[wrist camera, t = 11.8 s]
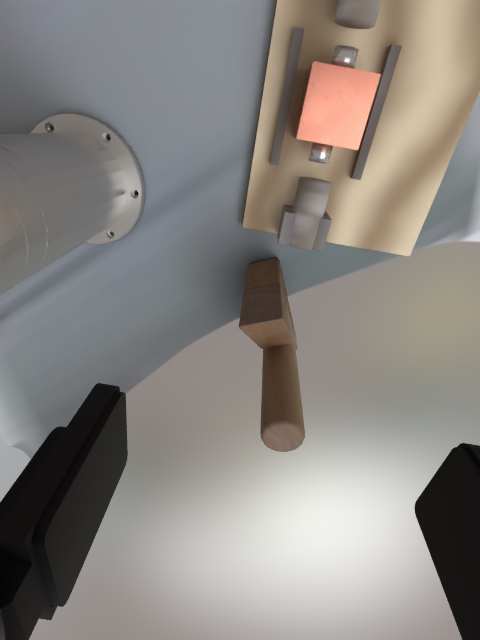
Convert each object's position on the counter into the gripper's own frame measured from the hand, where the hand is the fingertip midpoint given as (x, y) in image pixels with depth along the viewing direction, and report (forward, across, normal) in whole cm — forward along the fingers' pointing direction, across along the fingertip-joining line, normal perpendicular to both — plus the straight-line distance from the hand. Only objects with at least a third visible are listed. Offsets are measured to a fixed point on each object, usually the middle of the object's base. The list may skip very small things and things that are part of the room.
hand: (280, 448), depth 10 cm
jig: (+30, -6, -10) cm, 32 cm away
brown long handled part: (+31, -2, +10) cm, 32 cm away
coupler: (+29, -3, -10) cm, 31 cm away
